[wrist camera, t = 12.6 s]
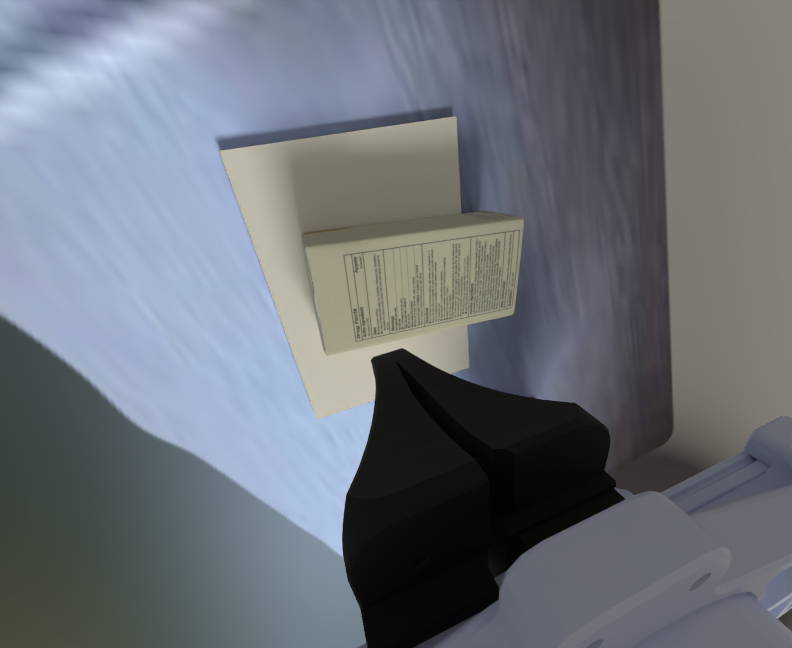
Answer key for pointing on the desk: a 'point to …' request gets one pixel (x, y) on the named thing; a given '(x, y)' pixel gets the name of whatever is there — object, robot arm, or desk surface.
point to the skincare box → (411, 276)
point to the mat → (336, 208)
